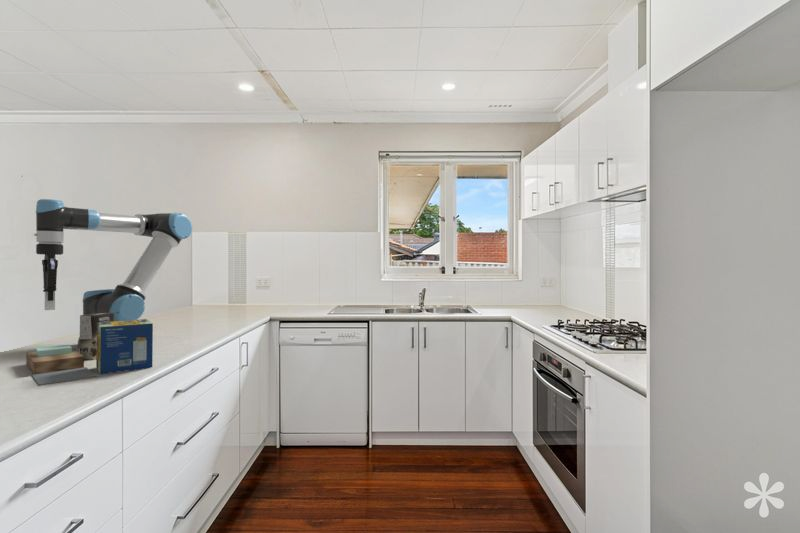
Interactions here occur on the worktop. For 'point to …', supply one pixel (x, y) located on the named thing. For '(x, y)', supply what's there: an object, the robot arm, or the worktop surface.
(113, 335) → the protein box
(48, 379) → the mat
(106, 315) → the coffee box
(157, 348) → the worktop surface
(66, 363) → the brown wooden block
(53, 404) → the worktop surface
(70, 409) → the worktop surface
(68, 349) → the mint green rectangular slab
